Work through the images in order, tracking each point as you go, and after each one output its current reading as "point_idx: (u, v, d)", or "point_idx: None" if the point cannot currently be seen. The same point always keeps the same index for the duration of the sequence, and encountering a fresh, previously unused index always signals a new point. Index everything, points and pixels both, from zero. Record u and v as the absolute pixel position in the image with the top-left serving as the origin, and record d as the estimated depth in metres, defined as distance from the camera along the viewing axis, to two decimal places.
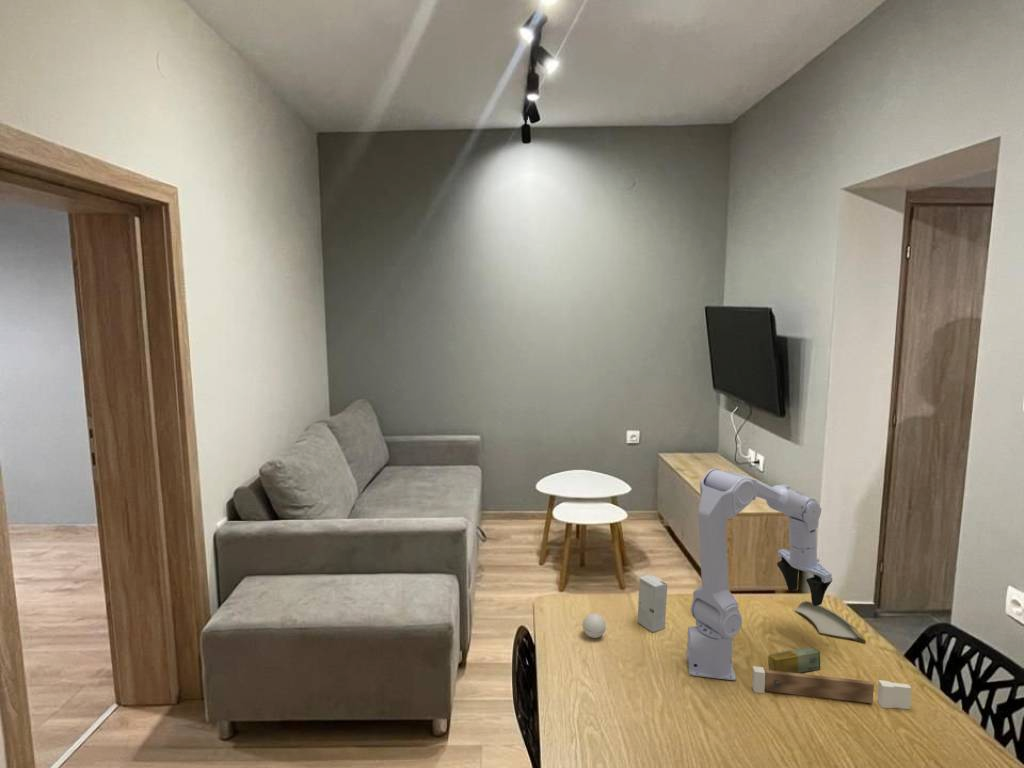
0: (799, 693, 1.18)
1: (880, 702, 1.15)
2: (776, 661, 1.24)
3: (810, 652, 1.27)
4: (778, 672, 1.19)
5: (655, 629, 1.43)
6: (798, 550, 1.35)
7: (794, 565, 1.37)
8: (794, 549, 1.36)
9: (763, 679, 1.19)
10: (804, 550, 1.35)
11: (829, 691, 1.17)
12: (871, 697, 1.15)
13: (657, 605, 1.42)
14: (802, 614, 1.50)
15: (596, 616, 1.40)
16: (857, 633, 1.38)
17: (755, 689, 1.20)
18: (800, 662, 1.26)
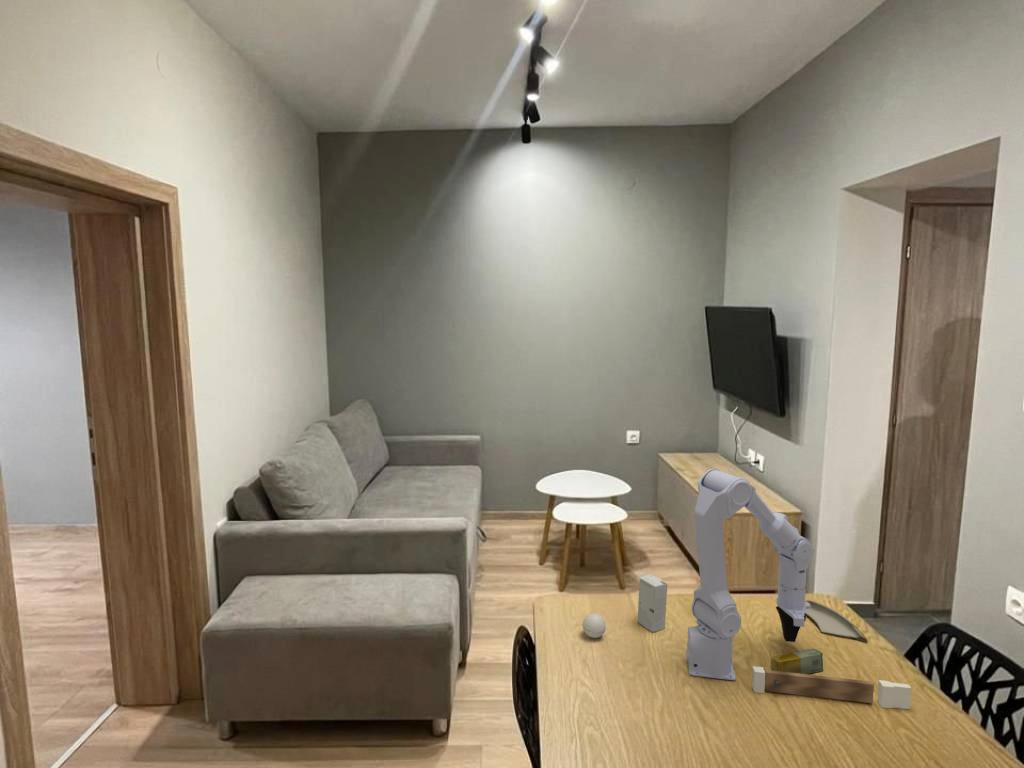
0: (799, 693, 1.18)
1: (880, 702, 1.15)
2: (779, 663, 1.23)
3: (813, 654, 1.26)
4: (778, 672, 1.19)
5: (655, 629, 1.43)
6: (781, 587, 1.32)
7: (777, 602, 1.34)
8: (779, 586, 1.33)
9: (763, 679, 1.19)
10: (786, 589, 1.31)
11: (829, 691, 1.17)
12: (871, 697, 1.15)
13: (657, 605, 1.42)
14: (804, 613, 1.50)
15: (596, 616, 1.40)
16: (859, 632, 1.38)
17: (755, 689, 1.20)
18: (802, 664, 1.25)
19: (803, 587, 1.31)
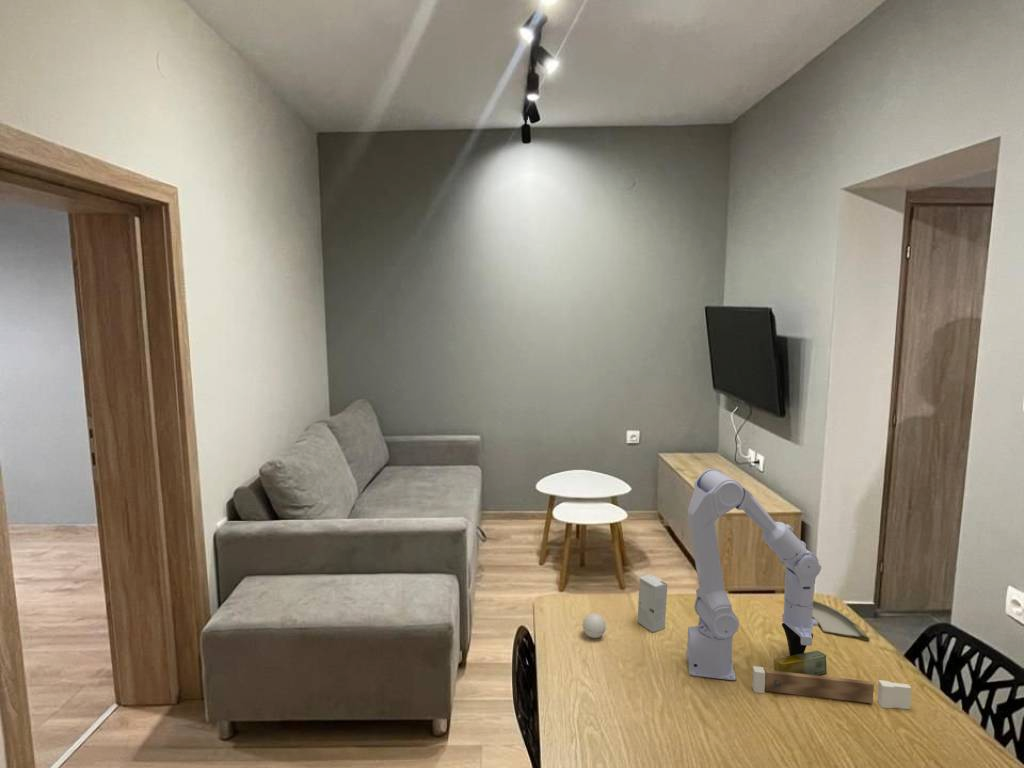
0: (799, 693, 1.18)
1: (880, 702, 1.15)
2: (782, 665, 1.22)
3: (817, 657, 1.25)
4: (778, 672, 1.19)
5: (655, 629, 1.43)
6: (787, 604, 1.27)
7: (783, 619, 1.28)
8: (785, 602, 1.28)
9: (763, 679, 1.19)
10: (792, 606, 1.26)
11: (829, 691, 1.17)
12: (871, 697, 1.15)
13: (657, 605, 1.42)
14: None
15: (596, 616, 1.40)
16: (861, 631, 1.39)
17: (755, 689, 1.20)
18: (806, 666, 1.24)
19: (808, 604, 1.25)
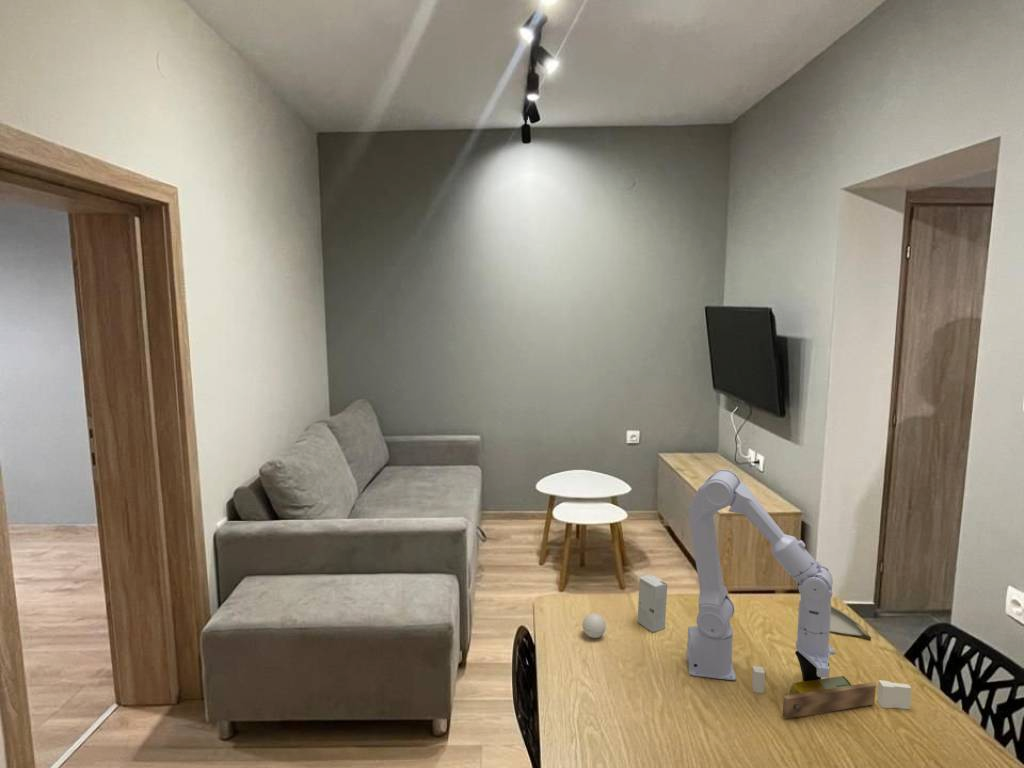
0: (815, 712, 1.12)
1: (880, 702, 1.15)
2: None
3: None
4: (795, 695, 1.12)
5: (655, 629, 1.43)
6: (801, 630, 1.16)
7: (797, 647, 1.17)
8: (799, 628, 1.17)
9: (763, 679, 1.19)
10: (807, 633, 1.15)
11: (840, 703, 1.13)
12: (873, 698, 1.15)
13: (657, 605, 1.42)
14: None
15: (596, 616, 1.40)
16: (862, 630, 1.39)
17: (755, 689, 1.20)
18: None
19: (816, 631, 1.14)
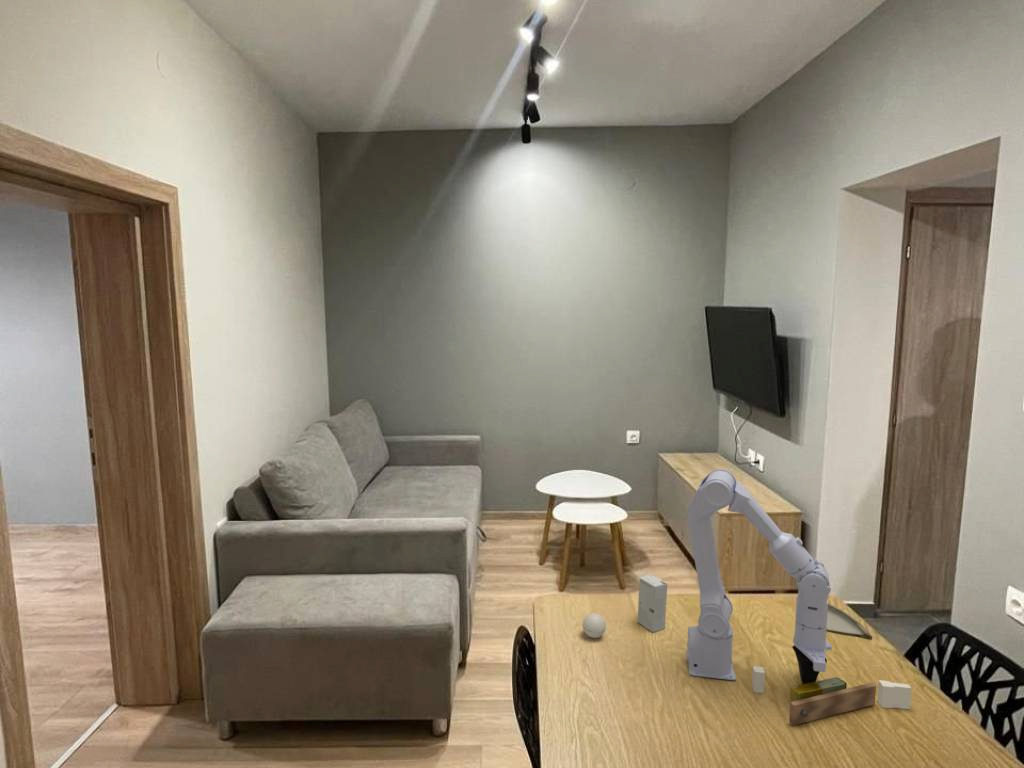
0: (820, 716, 1.11)
1: (880, 702, 1.15)
2: (799, 695, 1.13)
3: (836, 684, 1.16)
4: (802, 701, 1.10)
5: (655, 629, 1.43)
6: (799, 626, 1.18)
7: (794, 642, 1.19)
8: (796, 623, 1.19)
9: (763, 679, 1.19)
10: (804, 628, 1.17)
11: (843, 705, 1.13)
12: (874, 698, 1.15)
13: (657, 605, 1.42)
14: None
15: (596, 616, 1.40)
16: (864, 629, 1.40)
17: (755, 689, 1.20)
18: None
19: (814, 627, 1.16)
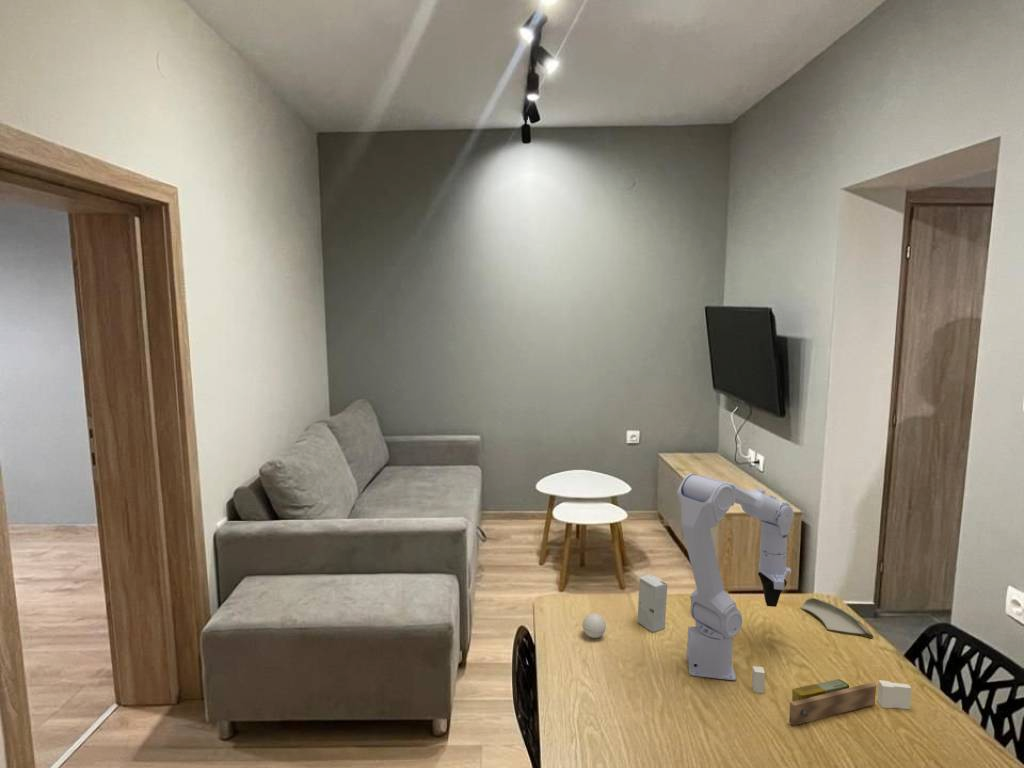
0: (820, 716, 1.11)
1: (880, 702, 1.15)
2: (801, 696, 1.12)
3: (839, 686, 1.15)
4: (802, 701, 1.10)
5: (655, 629, 1.43)
6: (762, 553, 1.35)
7: (759, 568, 1.36)
8: (760, 551, 1.36)
9: (763, 679, 1.19)
10: (767, 554, 1.34)
11: (843, 705, 1.13)
12: (874, 698, 1.15)
13: (657, 605, 1.42)
14: (808, 611, 1.51)
15: (596, 616, 1.40)
16: (865, 629, 1.40)
17: (755, 689, 1.20)
18: None
19: (785, 551, 1.33)
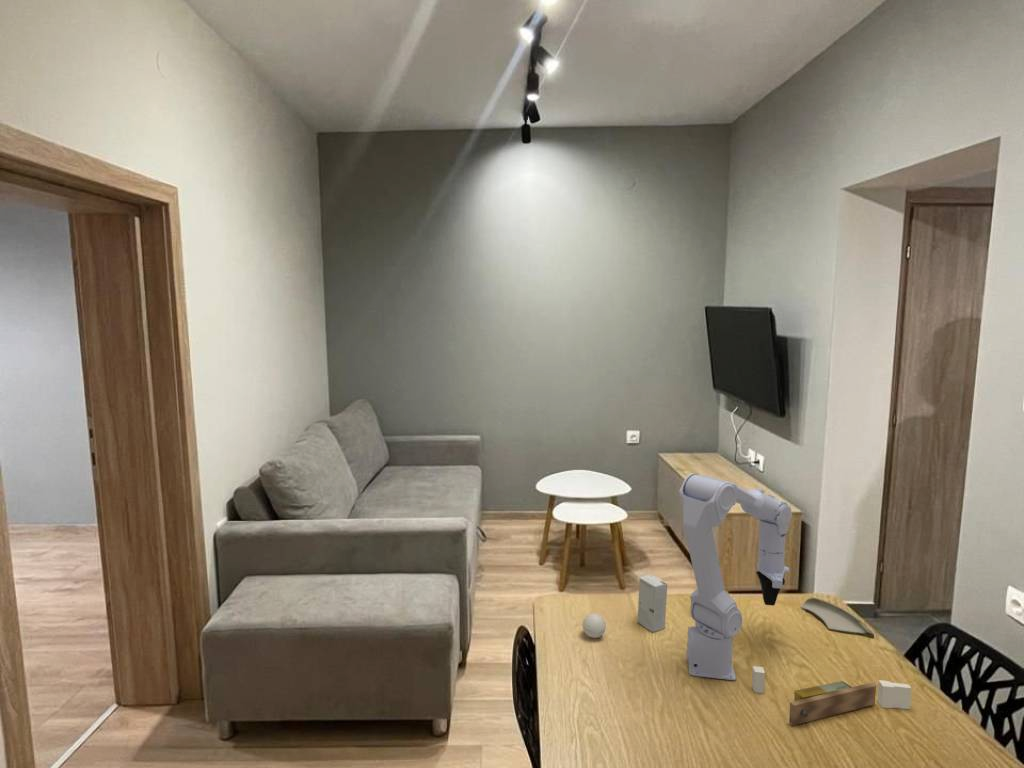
0: (820, 716, 1.11)
1: (880, 702, 1.15)
2: (803, 698, 1.12)
3: (841, 688, 1.14)
4: (802, 701, 1.10)
5: (655, 629, 1.43)
6: (761, 552, 1.35)
7: (757, 567, 1.37)
8: (759, 550, 1.36)
9: (763, 679, 1.19)
10: (765, 553, 1.34)
11: (843, 705, 1.13)
12: (874, 698, 1.15)
13: (657, 605, 1.42)
14: (809, 611, 1.52)
15: (596, 616, 1.40)
16: (866, 628, 1.40)
17: (755, 689, 1.20)
18: None
19: (784, 550, 1.34)
